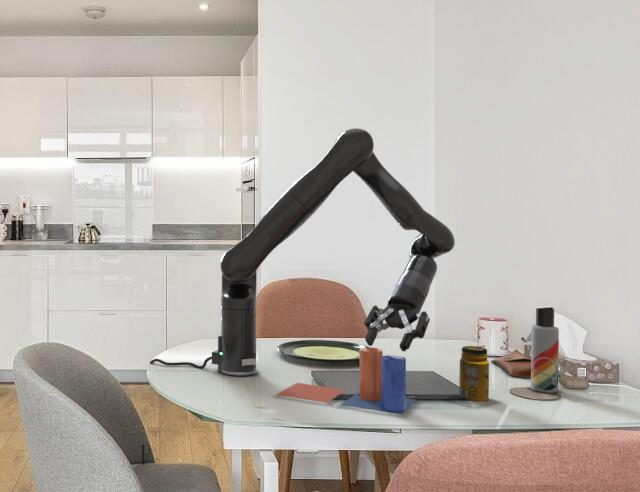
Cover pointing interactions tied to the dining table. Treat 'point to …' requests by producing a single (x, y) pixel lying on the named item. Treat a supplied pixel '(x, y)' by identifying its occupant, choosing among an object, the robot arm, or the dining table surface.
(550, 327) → the lotion bottle
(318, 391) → the terracotta mat
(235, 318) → the robot arm
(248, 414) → the dining table surface
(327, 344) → the plate
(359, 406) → the blue mat
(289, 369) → the dining table surface
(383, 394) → the blue canister
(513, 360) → the sunglasses case
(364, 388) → the terracotta canister
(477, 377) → the condiment
